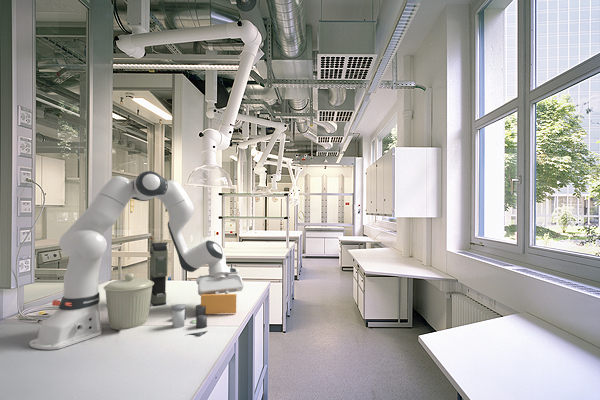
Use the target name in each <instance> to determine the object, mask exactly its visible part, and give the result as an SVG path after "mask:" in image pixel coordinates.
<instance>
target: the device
mask: <svg viewBox="0 0 600 400" xmlns="http://www.w3.org/2000/svg"><path fill="white" fill-rule="evenodd" d="M167 245H168V242H152V243H150V248H149V256H150V262H149V263H150V264H149V266H150V267H149V269H150V271H149V272H150V274H149V275H150V276H149V277H150V278H149V280H151V281H153V282H154V285H153V286H152V293H151V300H150V305H151V306H152V307H159V306H166V305H167V292H166V291H167V290H166V287H167V286H166V285H167V283H166V281H167V280H166V278H167V277H168V262H169V261H168V258H169V256H168V254H169V252H168V247H169V246H167Z"/></svg>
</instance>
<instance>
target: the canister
mask: <svg viewBox="0 0 600 400" xmlns="http://www.w3.org/2000/svg"><path fill="white" fill-rule="evenodd" d="M153 285H154V282H153V281H151V280H150V278H145V277H144V278H143V277H136V276H135V274H134V273H133V272H128V273H126V274H125V275H124V278H121V279H117V280H112V281H110V282H109V283H107V284H105V285H104V286H103V287H102V288H103V290H104V291H105V299H106V311H107V315H108V316H107V318H108V324H109V326H110V327H111V329H113V330H116V331H121V330H127V329H133V328H137V327H140V326H142V325H144V324H145V323H146V322H147V321H148V319H149V315H150V314H149V313H150V308H151V307H150V305H151V302H150V300H151V293H152V286H153Z"/></svg>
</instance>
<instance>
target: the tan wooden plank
mask: <svg viewBox="0 0 600 400" xmlns="http://www.w3.org/2000/svg"><path fill="white" fill-rule="evenodd" d="M211 314H212V315H213V314H214V315H215V314H217V315H218V314H220V315H221V314H222V315H223V314H237V293H229V294H225V293H220V294H207V295H201V296H200V304H196V305H195V317H196V316H198V315H206V316H207V315H211Z"/></svg>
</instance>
